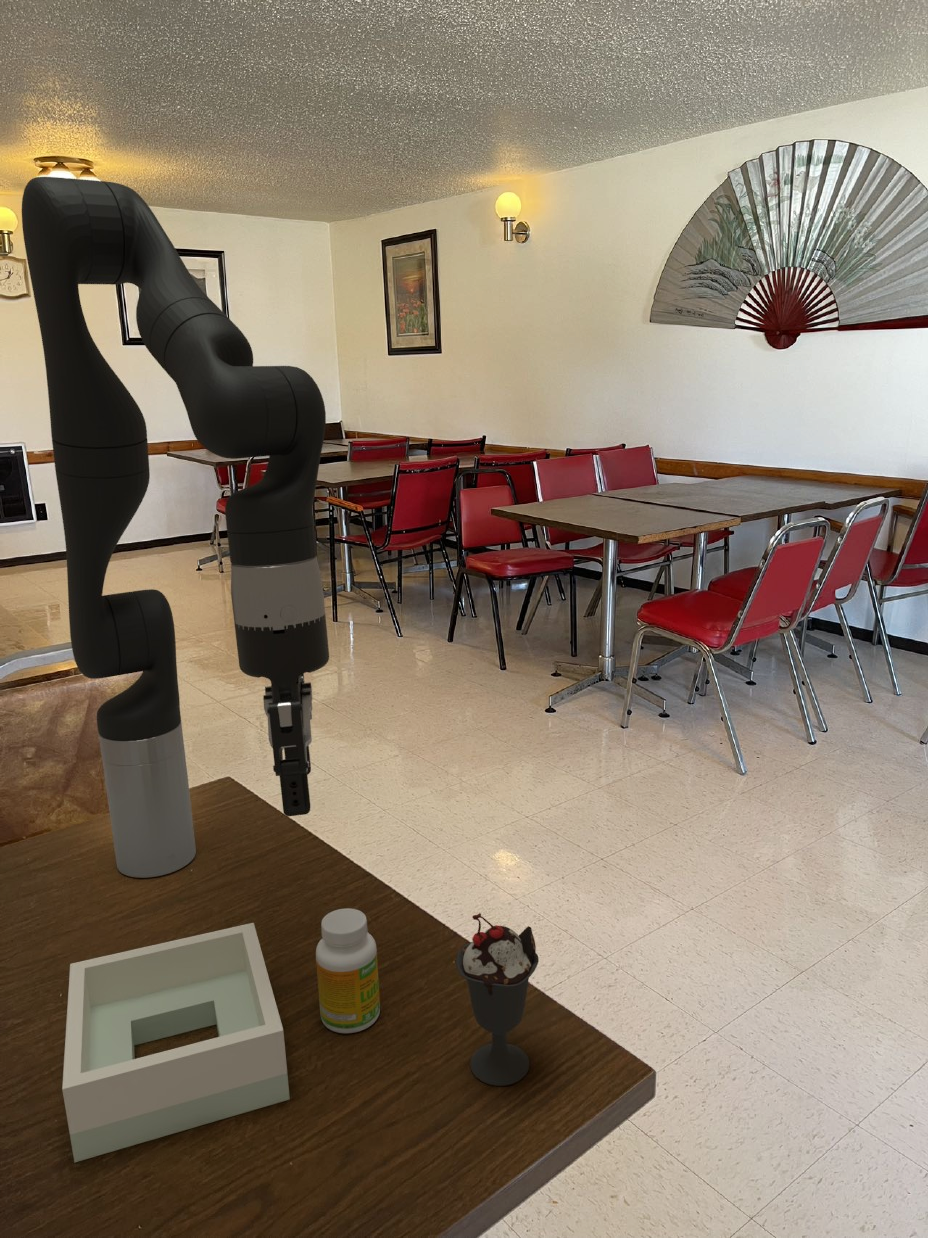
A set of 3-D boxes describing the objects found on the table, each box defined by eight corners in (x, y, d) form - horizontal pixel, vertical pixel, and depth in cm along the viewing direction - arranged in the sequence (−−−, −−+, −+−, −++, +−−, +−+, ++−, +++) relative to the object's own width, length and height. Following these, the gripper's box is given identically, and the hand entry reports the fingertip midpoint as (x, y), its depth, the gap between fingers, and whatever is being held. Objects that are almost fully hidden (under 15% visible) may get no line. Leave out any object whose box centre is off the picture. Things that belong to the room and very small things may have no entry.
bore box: (80, 1026, 82) (70, 963, 81) (259, 982, 88) (253, 922, 86) (74, 1162, 68) (62, 1089, 66) (289, 1099, 73) (283, 1030, 71)
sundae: (448, 1084, 74) (441, 921, 70) (475, 1030, 80) (471, 877, 77) (526, 1104, 72) (524, 936, 68) (548, 1047, 78) (547, 890, 74)
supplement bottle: (370, 1039, 80) (363, 941, 77) (312, 1032, 81) (303, 935, 78) (387, 999, 85) (382, 906, 82) (332, 993, 86) (325, 901, 83)
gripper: (240, 600, 83) (259, 768, 86) (225, 636, 69) (249, 834, 73) (324, 593, 84) (339, 759, 87) (325, 627, 70) (343, 823, 74)
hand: (298, 793), depth 80 cm, fingers open, 8 cm apart
